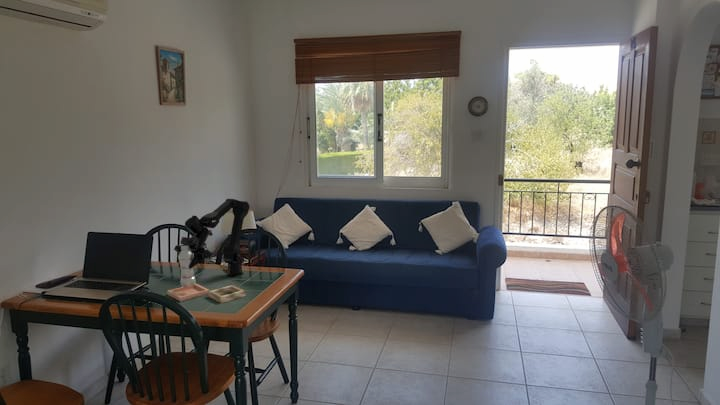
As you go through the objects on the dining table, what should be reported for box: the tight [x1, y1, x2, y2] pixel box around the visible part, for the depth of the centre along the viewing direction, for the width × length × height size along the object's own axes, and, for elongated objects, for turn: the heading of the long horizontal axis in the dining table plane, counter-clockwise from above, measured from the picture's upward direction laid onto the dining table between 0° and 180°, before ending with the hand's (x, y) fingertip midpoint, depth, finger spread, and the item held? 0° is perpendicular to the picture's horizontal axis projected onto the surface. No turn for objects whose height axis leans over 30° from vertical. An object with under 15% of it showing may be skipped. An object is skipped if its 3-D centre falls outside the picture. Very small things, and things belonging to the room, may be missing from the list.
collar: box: [208, 284, 246, 304], centre depth 223 cm, size 12×12×2 cm
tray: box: [167, 283, 211, 303], centre depth 227 cm, size 14×14×2 cm
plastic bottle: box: [177, 244, 197, 287], centre depth 225 cm, size 6×7×20 cm
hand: (184, 267), depth 224 cm, fingers closed on plastic bottle, 6 cm apart
